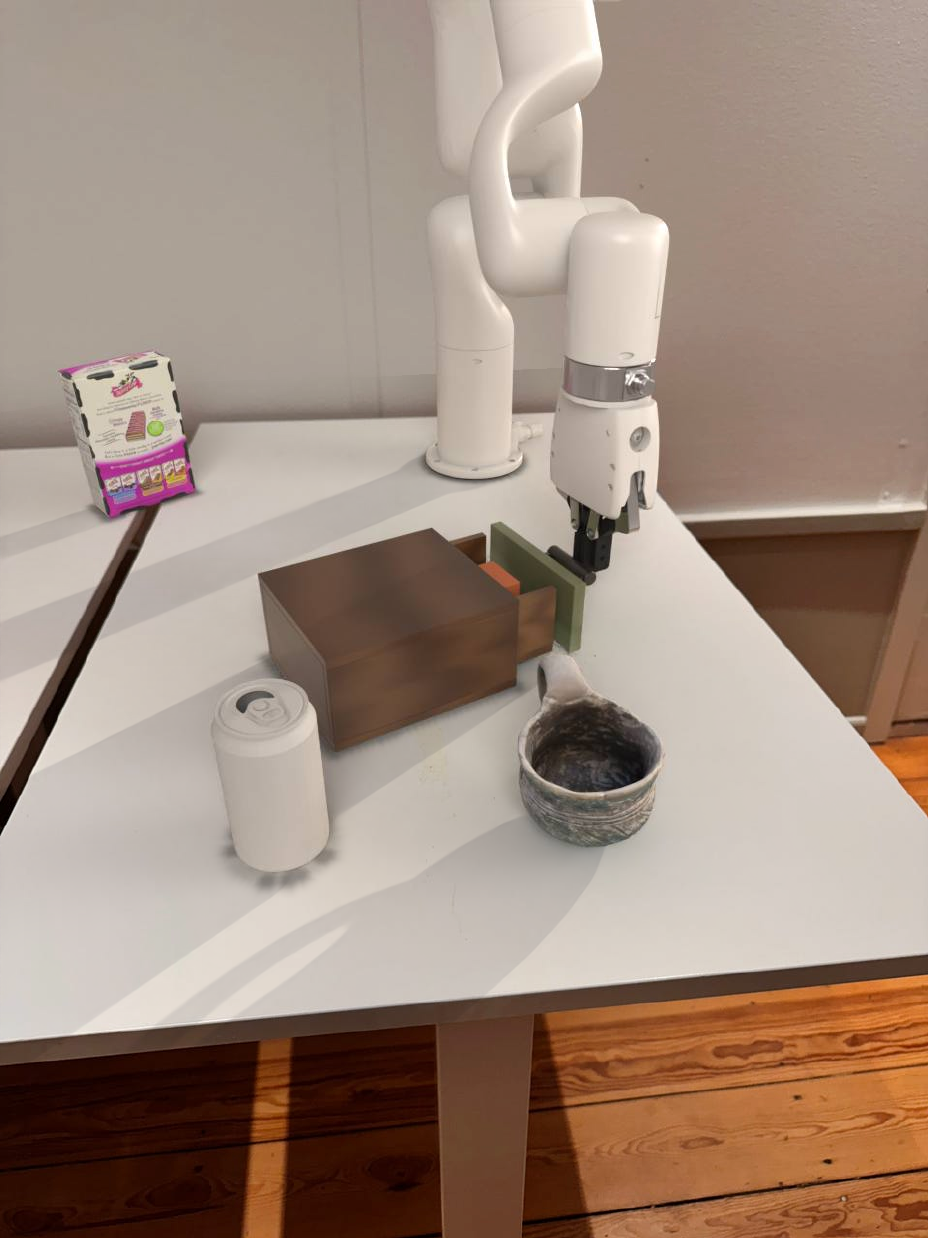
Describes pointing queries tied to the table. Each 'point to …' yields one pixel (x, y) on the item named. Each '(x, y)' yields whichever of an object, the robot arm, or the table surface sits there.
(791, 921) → the table surface
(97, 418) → the candy bar box
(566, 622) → the drawer
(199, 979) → the table surface
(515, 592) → the block
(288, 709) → the beverage can
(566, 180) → the robot arm
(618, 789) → the mug
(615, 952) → the table surface
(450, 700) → the cabinet
